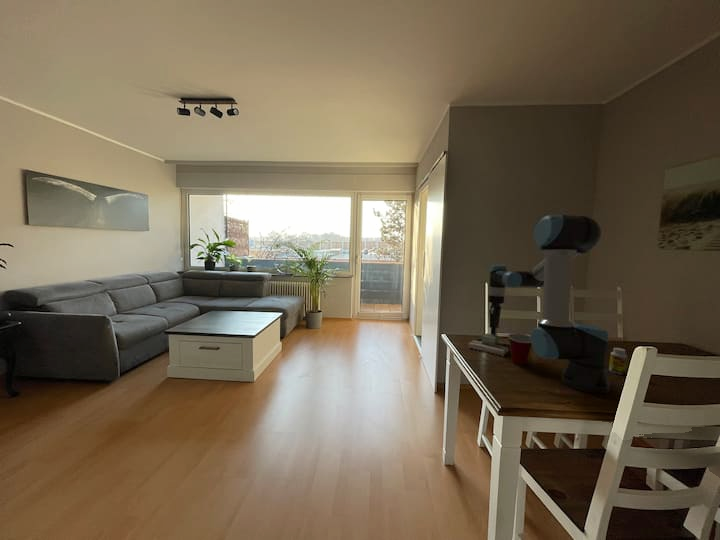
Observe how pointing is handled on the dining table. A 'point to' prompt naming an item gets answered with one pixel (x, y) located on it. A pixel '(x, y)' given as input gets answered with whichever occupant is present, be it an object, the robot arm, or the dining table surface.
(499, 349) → the trap deck
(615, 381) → the dining table surface
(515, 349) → the plastic cup
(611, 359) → the supplement bottle
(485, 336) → the sage block
